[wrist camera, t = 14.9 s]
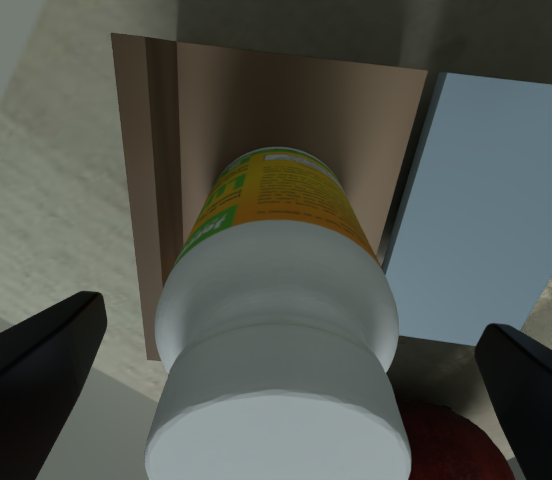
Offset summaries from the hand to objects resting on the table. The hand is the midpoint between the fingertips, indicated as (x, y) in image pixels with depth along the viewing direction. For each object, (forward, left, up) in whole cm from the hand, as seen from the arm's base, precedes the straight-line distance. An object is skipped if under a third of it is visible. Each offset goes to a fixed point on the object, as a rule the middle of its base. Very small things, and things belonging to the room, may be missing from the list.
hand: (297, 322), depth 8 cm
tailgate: (-4, 0, -6) cm, 8 cm away
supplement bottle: (0, 0, -7) cm, 7 cm away
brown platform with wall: (+1, 0, -9) cm, 9 cm away
